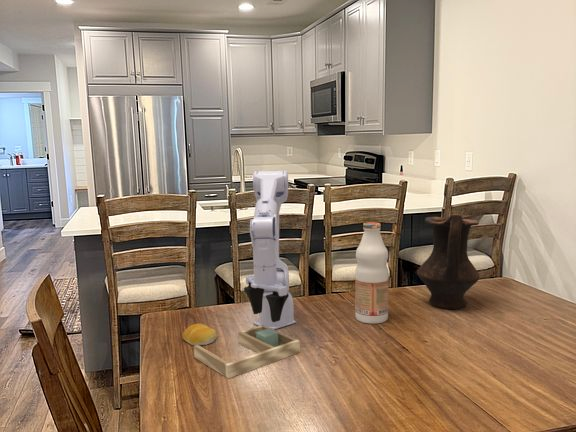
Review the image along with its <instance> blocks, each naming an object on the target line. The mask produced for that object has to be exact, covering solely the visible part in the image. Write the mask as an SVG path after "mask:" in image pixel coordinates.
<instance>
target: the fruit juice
mask: <svg viewBox="0 0 576 432" xmlns="http://www.w3.org/2000/svg"><path fill="white" fill-rule="evenodd" d="M362 227H363V234H362V237H361V239H360V242H359V244H358V247H357V248H356V251H355V260H356V262H357V263H356V268H355V275H354V277H355V278H354V279H355V281H354V282H355V283H354V285H355V289H354V291H355V292H354V294H355V296H354V297H355V300H354V301H355V302H354V303H355V304H354V305H355V306H354V308H355V310H354V311H355V313H354V314H355V319H356V320H357V321H359V322H361V323H363V324H372V325H373V324H374V325H375V324H383V323H385V322H387V320H388V319H389V269H388V266H387V262H388V260H389V259H388V258H389V251H388V249H387V247H386V246H385V243H384V240H383V237H382V235H381V232H380V231H381V230H382V229H381V228H382V227H381V223H380V222H373V221H371V222H363V225H362Z"/></svg>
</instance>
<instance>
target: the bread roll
mask: <svg viewBox="0 0 576 432" xmlns="http://www.w3.org/2000/svg"><path fill="white" fill-rule="evenodd" d="M217 334H218V333H217V331H216V330H215V329H214V328H211V327H209V326H208V325H205V324H203V323H195V324H194V323H193V324H192V325H189V326H188V327H187V328H186V329H185V330H184V331H183V333H182V338H183V340H184V341H185V342H186V343H188V344H189V345H191V346H193V347H194V346H195V345H199V346H206V345H209V344H212V343H213V342H215V341H216V339H217Z"/></svg>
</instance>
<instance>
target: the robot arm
mask: <svg viewBox="0 0 576 432" xmlns="http://www.w3.org/2000/svg"><path fill="white" fill-rule="evenodd" d="M288 173H289V172H288V170H286V169H284V170H255V171H253V174H252V187H253V192H254V197H255V200H256V202H255V206H254V208H255V209H254V215H253V218H251V219H250V221H249V236H250V240H251V247H252V252H253V253H252V258H253V262H252V263H253V274H252V275H248V276H245V285H247V286H245V287H244V288H243V291H244V292H245V294H246V296H247V298H248V300H249V302H250V303H249V304H250V305H251V306H250V307H251V310H252V313H253V315H258V314H259V320H254V321H253V324H254V325H256V326H257V327H258V326H261V325H265V326H267V327H269V328H272V329H274V330H276V329H281V328H283V327H286V326H287V327H288V326H289V325H294V324H296V322H297V321H296V320H295V319H294V318H295V317H294V315H295V314H294V312H295V311H294V298H293V296H292V294H291V292H289V291H290V274H289V273H290V272H289V267H288V264H286V263H285V262H284V261H283V260H281V259H280V210H281V206H282V204H284V202H287V201H288V197H289V174H288Z"/></svg>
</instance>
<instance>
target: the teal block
mask: <svg viewBox="0 0 576 432" xmlns="http://www.w3.org/2000/svg"><path fill="white" fill-rule="evenodd" d="M256 339H259V340H261V341H263V342H265V343H267V344H269V345H271V346H273V347H277V346H279V345H278V333H277V332H275V331H273V330H270V329H266V330H262V331H259V332H256Z"/></svg>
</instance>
